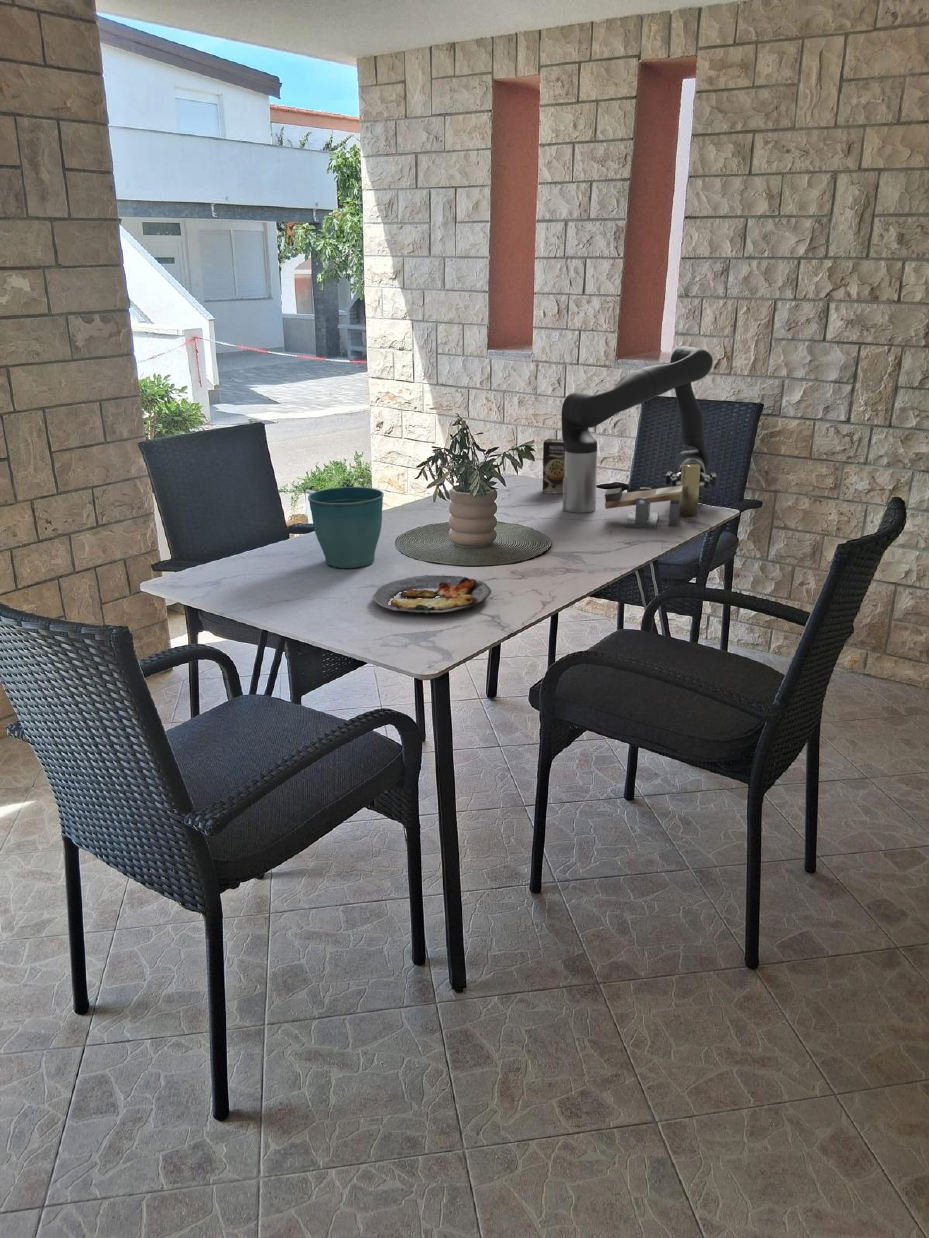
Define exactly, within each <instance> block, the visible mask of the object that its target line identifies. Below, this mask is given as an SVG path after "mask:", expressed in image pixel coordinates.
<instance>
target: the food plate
mask: <svg viewBox="0 0 929 1238" xmlns="http://www.w3.org/2000/svg"><path fill="white" fill-rule="evenodd" d="M413 589H416V590H413ZM418 589H420V590H418ZM429 589H430V590H429ZM433 589H434V590H436V589H438V590H436V591H432V590H433ZM404 591H407V592H404ZM399 592H402V593H401V594H399V596H400V597H399V598H398V597H397V598H394V596H396V595H397V594H398V593H399ZM491 594H492V590H491V588H490V587H489V586H488V584H486V583H485V582H484V581H480V580H477V579H476V578H469V577H465V576H461V575H460V576H458V575H445V574H444V575H437V574H435V575H431V574H430V575H428V574H424V575H416V576H411V577H406V578H403V579H399V580H393V581H391V582H388V583H386V584H384V585H381V586H380V587H379V588H378V589H377V591H376V592H374V594H373V595H372V598H373V600H374V602H375V603H376V604H378V605H379V606H381V607H383V608H386V609H388V610H392V611H399V612H400V611H401V612H407V613H425V614H428V613H435V614H436V613H454V612H458V611H461V610H467V609H470V608H473V607H475V606H477V605H481V604H482V603H483V602H484V601H485V600H486V599H487V598H489V596H490V595H491ZM436 596H440V597H438V598H440V599H438V598H435V597H436ZM401 597H407V598H401ZM391 598H393V600H392V601H391V605H388V602H389V601H390V599H391ZM408 598H422V599H408ZM433 598H434V599H433Z"/></svg>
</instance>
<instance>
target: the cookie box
mask: <svg viewBox="0 0 929 1238" xmlns="http://www.w3.org/2000/svg"><path fill="white" fill-rule="evenodd" d="M542 443H543V446H542V448H543V450H542V454H543V455H542V493H543V492H557V493H556V494H561V493H563V478H564V477H565V445H564V442H563V439H562V438H558V439H557V438H547V439H545V440H544V441H543V442H542Z"/></svg>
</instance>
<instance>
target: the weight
mask: <svg viewBox="0 0 929 1238" xmlns="http://www.w3.org/2000/svg"><path fill="white" fill-rule="evenodd" d="M699 479H700V465H697V464H684V465H682V473H681V486H683V488H682V492H681V497H680V508H679V516H680V515H681V517H685V518H687V517H688V518H693V517H697V516H698V509H699V508H698V506H699V491H700V485H699Z"/></svg>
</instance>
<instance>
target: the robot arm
mask: <svg viewBox="0 0 929 1238" xmlns="http://www.w3.org/2000/svg"><path fill="white" fill-rule="evenodd" d="M713 360H714V359H713V356H712V355H711V353H710V352H709V351H707V350H705V349H703V348H700V347H693V346H686V345H683V346H678V347H677V348H676V349H674V351H673V352H672V354H671V357H670V363H666V364H657V365H655V364H654V365H650V366H646V367H642V368H638V369H637V370H634V371H632V372H629V373H628V374H625V375H624V376H623V377H621V379H620V380H619V381H618V382H617V383H616V384H615V386H614V387H612V388H611V389H609V390H605V391H602V392H599V393H594V394H590V393H584V392H572V393H570V394H568V395H567V396H566V397H565V399H564V400H563V403H562V406H561V439H563V442H564V445H565V477H564V478H563V494H562V511H563V512H569V513H579V514H580V513H582V514H583V513H591V512H595V510H596V508H597V506H596V505H597V476H598V475H597V473H598V470H597V469H598V467H597V466H598V441H597V440H596V439H595V438H594V437H593V436H592V435H591V432H590V430H589V429H592V428H594V427H597V426H599V425H600V424H602V423H604V422H606V421H607V420H609V419H610V418H612V417H614V416H615V415H617V414H619V413H621V412H624V411H626V410H629V409H631V408H633V407H635V406H637V405H640V404H643V403H646V402H647V401H649V400H652V399H654V398H655V397H658V396H661V395H662V394H663V395H664V393H667V392H669V391H671V390H673V389H674V391H675V392H674V393H675V397H676V400H677V401H676V402H677V406H678V413H679V423H680V425H679V426H680V428H679V429H680V441H681V443H682V444H683V445H684V446H688V447H694V448H696V449H692V450H683V451H681V452H679V453H678V454H677V456H676V460H675V464H676V468H677V471H678V472H676V473H675V474H674V472H673V471H670V470H669V471H667V472H666V474H665V484H666V485H669V484H670V485H671V486H672V487H673V486H680V485H681V473H682V465H684V464H697V465H700V479H699V487H700V486H701V487H702V486H703V488H704V489H707V487H710V485H711V486H714V487H715V486H716V484H717V474H716V472H711V473H710V474H708V475H707V474H706V472H707V471H709V470H710V468H711V464H712V459H711V456H710V454H709V453H710V452H709V450H708V447H707V444H706V440H705V432H704V431H705V430H704V429H705V426H704V423H705V422H704V416H703V412H702V409H701V406H700V405H699V402H698V401H697V399H696V396H695V393H694V390H693V385H692V383H695V382H698V381H701V380H702V379H704V378H705V377H706V376H707V375H708V374H709V373H710V371H711V369H712V367H713V364H714V363H713V362H714V361H713Z"/></svg>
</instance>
